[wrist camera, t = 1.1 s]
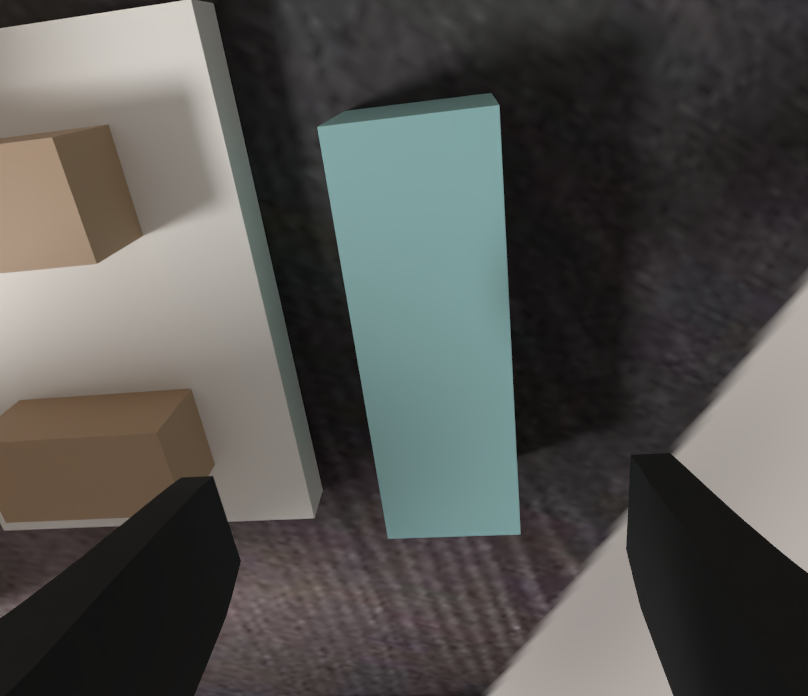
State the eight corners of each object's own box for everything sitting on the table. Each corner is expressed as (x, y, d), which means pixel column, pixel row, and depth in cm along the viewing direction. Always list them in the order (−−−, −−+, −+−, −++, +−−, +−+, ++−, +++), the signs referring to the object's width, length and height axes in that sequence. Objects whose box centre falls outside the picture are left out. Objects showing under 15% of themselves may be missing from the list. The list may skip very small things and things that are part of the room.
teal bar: (510, 454, 22) (520, 534, 18) (399, 459, 22) (387, 538, 19) (490, 92, 17) (499, 104, 13) (346, 109, 17) (317, 126, 14)
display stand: (322, 490, 23) (297, 573, 19) (29, 503, 24) (-45, 582, 21) (213, 2, 16) (142, -9, 12) (-188, 63, 17) (-354, 68, 14)
